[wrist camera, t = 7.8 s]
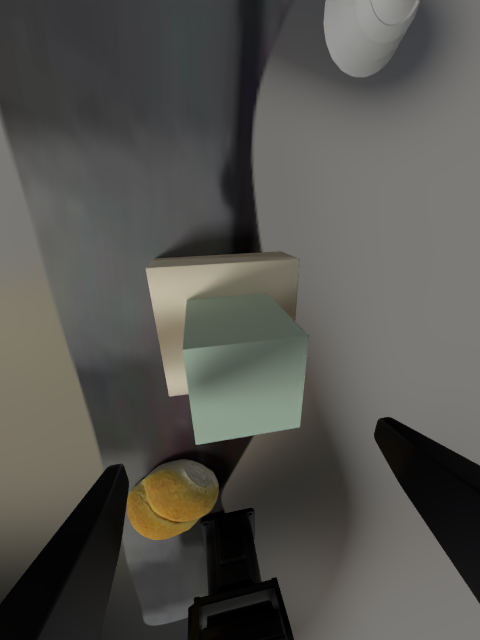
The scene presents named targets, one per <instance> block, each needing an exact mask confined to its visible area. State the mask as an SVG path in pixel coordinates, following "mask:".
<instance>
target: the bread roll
mask: <svg viewBox="0 0 480 640" xmlns="http://www.w3.org/2000/svg"><path fill="white" fill-rule="evenodd" d="M218 488H219V484H218V481H217V479H216V477H215V474H214V472H213V471H211V470H210V469H208V468H206V467H205V466H204V465H202V464H200V463H198V462H195V461H192V460H187V459H181V460H176V461H172V462H168V463H165V464H162V465H160V466H158V467H157V468H155V469H154V470H153V471H152V472H150V473H149V474H148V475H147V476H146V477H145V478H144V479H143V480H141V481H140V482H139V483H138V484H137V485H136V486H135V487H134V488H133V489H132V490H131V492H130V493H129V496H128V500H127V511H128V517H129V520H130V523H131V524H132V526H133V527H134V528H135V529H136V530H137V532H138V533H140V534H141V535H143V536H144V537H147V538H150V539H154V540H163V539H167V538H171V537H173V536H176V535H178V534H180V533H182V532H184V531H187V530H189V529H190V528H191V527H192V526H193V525H194V524H195V523H196V522H197V521H198V520H199V518H200V517H202V516H204V515H206V514H207V513H208V512H210V511H211V510H212V508H213V506H214V504H215V502H216V500H217V497H218V492H219V490H218Z"/></svg>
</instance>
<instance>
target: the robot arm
mask: <svg viewBox="0 0 480 640" xmlns="http://www.w3.org/2000/svg"><path fill="white" fill-rule="evenodd" d="M374 438H375V441H376V442H377V444H378V446H379V448H380V450H381V451H382V453H383V455H384V457H385V459H386V461H387V462H388V464H389V466H390V468H391V470H392V471H393V473H394V475H395V477H396V478H397V480H398V482H399V483H400V485H401V487H402V488H403V490H404V491H405V493H406V494H407V496H408V497H409V499H410V500H411V502H412V503H413V505H414V506H415V508H416V509H417V511H418V512H419V514H420V515H421V517H422V518H423V519H424V521H425V522H426V524H427V525H428V527H429V529H430V530H431V531H432V533H433V534H434V536H435V537H436V539H437V541H438V542H439V544H440V545H441V547H442V548H443V550H444V551H445V552H446V554H447V555H448V557H449V558H450V560H451V561H452V563H453V564H454V566H455V567H456V569H457V570H458V572H459V573H460V575H461V576H462V578H463V579H464V581H465V582H466V584H467V585H468V587H469V588H470V590H471V591H472V593H473V594H474V596H475V597H476V599H477V600H478V602H479V603H480V466H479V465H478V464H476V463H474V462H472V461H470V460H468V459H467V458H465V457H463V456H461V455H459V454H457V453H455V452H454V451H452V450H450V449H448V448H446V447H445V446H443V445H441V444H439V443H437V442H435V441H433V440H432V439H430V438H428V437H426V436H424V435H422V434H421V433H419V432H417V431H415V430H413V429H411V428H410V427H408V426H406V425H404V424H402V423H400V422H398V421H397V420H395V419H393V418H391V417H385V418H380V419H379V420H378V421H377V425H376V429H375V433H374ZM128 490H129V480H128V477H127V474H126V471H125V468H124V465H123V464H116V465H111V466H109V467H107V468H106V470H105V471H104V472H103V473H102V475H101V476H100V477H99V479H98V480H97V481H96V483H95V484H94V485H93V487H92V488H91V489H90V490H89V491H88V493H87V494H86V495H85V496H84V498H83V499H82V500H81V501H80V503H79V504H78V505H77V507H76V508H75V509H74V510H73V512H72V513H71V514H70V516H69V517H68V518H67V519H66V520H65V522H64V523H63V525H62V526H61V527H60V528H59V529H58V531H57V532H56V533H55V534H54V536H53V537H52V538H51V540H50V541H49V542H48V543H47V545H46V546H45V547H44V549H43V550H42V551H41V552H40V554H39V555H38V556H37V558H36V559H35V560H34V561H33V562H32V564H31V565H30V566H29V568H28V569H27V570H26V571H25V573H24V574H23V575H22V576H21V578H20V579H19V580H18V582H17V583H16V584H15V585H14V587H13V588H12V589H11V591H10V592H9V593H8V594H7V596H6V597H5V598H4V599H3V601H2V602H1V603H0V640H99V639H100V635H101V631H102V626H103V622H104V618H105V613H106V609H107V604H108V600H109V596H110V592H111V587H112V583H113V578H114V574H115V570H116V566H117V561H118V557H119V551H120V547H121V541H122V534H123V526H124V519H125V512H126V504H127V497H128ZM254 520H255V519H254V509H253V508H248V509H243V510H238V511H234V512H229V513H225V514H220V515H215V516H211V517H206V518H203V519H201V530H202V536H203V543H204V549H205V551H207V575H208V596H204V597H195V598H194V604H193V605H192V606H190V607H189V608H188V640H294V638H293V634H292V630H291V627H290V623H289V619H288V616H287V613H286V609H285V605H284V602H283V598H282V595H281V591H280V588H279V585H278V581H277V578H276V577H275V578H272V579H271V580H268V581H264V582H262V581H261V575H260V570H259V564H258V559H257V554H256V548H255V544H254V538H255V527H254V526H255V522H254ZM203 625H207V628H204V629H203V628H202V626H203Z"/></svg>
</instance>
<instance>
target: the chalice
mask: <svg viewBox="0 0 480 640" xmlns="http://www.w3.org/2000/svg"><path fill="white" fill-rule="evenodd" d="M420 1H421V0H326V3H325V13H324V31H325V38H326V44H327V47H328V49H329V52H330V54H331V57H332V59H333V61H334V62H335V63H336V64H337V66H338V67H339V68H340V69H341V71H343V72H345V73H347V74H348V75H350V76H352V77H367V76H370V75H372V74H375V73H377V72H378V71H379V70H380V69H382V67H384V66H385V65H386V64H387V63H388V62H389V60H390V59H391V58H392V56H393V55H394V53H395V51H396V50H397V48H398V46H399V43H400V41H401V40H402V38H403V37H404V35H405V34H406V32H407V29H408V27H409V26H410V24H411V23H412V21H413V20H414V17H415V15H416V12H417V10H418V8H419V5H420Z"/></svg>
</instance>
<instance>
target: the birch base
mask: <svg viewBox="0 0 480 640" xmlns="http://www.w3.org/2000/svg"><path fill="white" fill-rule="evenodd" d="M146 273H147V279H148V284H149V289H150V295H151V300H152V306H153V311H154V316H155V322H156V327H157V333H158V338H159V343H160V349H161V354H162V360H163V365H164V371H165V376H166V381H167V387H168V392H169V396H176V395H184V394H189V392H188V385H187V378H186V371H185V364H184V357H183V338H184V326H185V315H186V303H187V300H189V299H201V298H214V297H226V296H239V295H252V294H264V293H268V294H269V295H270V296H271V297H272V299H273V300H274V301H275V302H276V303H277V304H278V305H279V306H280V307H281V308H282V309H283V310H284V311H285V312H286V313H287V314H288V315H289V316H290V317H291V318H292V319H293V320H294V321H295V315H296V301H297V288H298V273H299V259H298V258H296V257H293V256H291V255H288V254H285V253H283V252H264V253H245V254H227V255H209V256H190V257H172V258H155V259H154V260H153V261H152V262H151V263H150V264H149V265H148V266H147V267H146Z"/></svg>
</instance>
